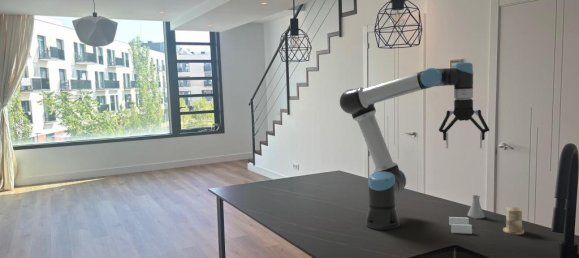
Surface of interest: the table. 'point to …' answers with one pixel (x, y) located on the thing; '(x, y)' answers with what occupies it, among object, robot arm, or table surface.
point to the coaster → (513, 232)
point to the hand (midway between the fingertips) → (463, 147)
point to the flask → (476, 208)
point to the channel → (460, 225)
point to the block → (513, 219)
